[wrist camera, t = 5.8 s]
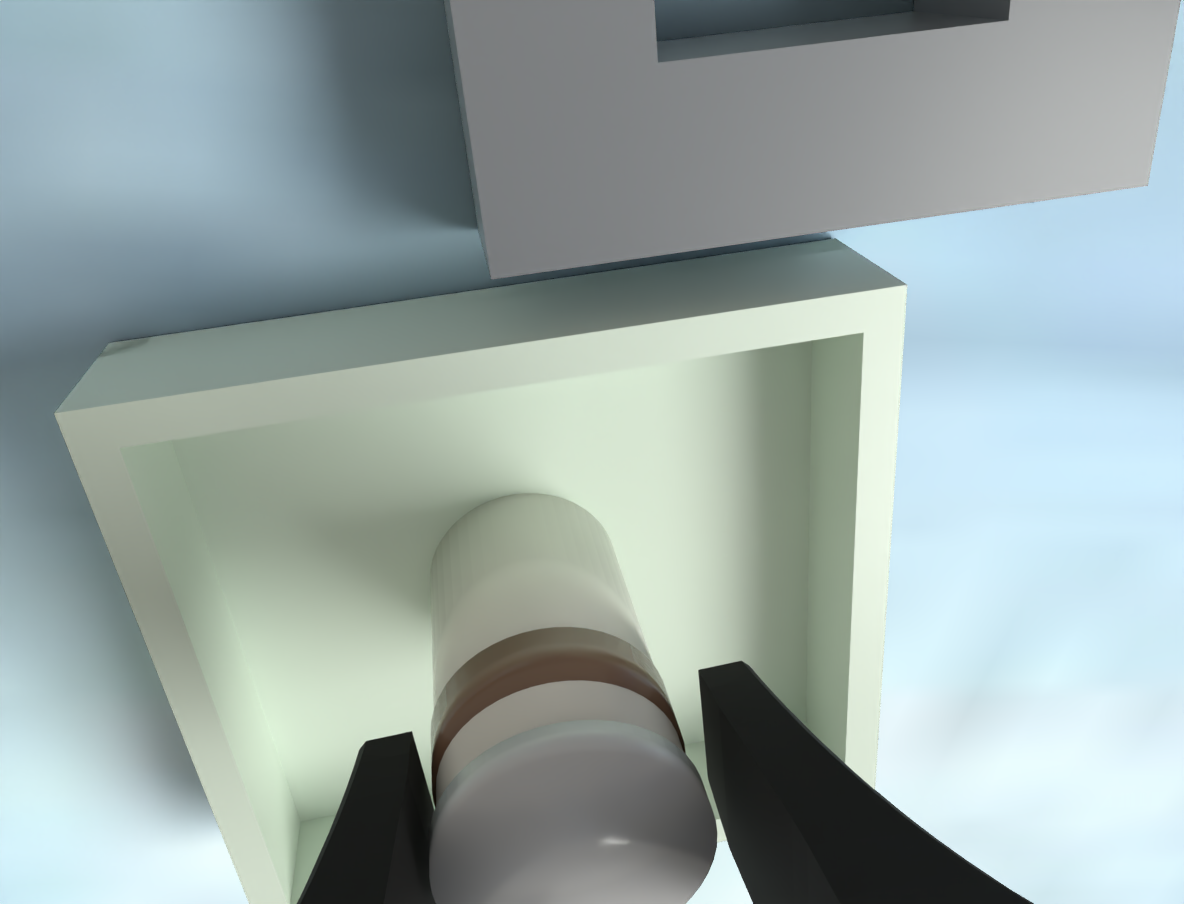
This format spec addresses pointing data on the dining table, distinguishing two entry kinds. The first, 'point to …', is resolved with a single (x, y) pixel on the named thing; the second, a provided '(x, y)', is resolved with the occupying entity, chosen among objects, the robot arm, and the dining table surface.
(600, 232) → the fuse holder
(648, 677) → the cylinder
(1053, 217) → the dining table surface
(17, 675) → the dining table surface
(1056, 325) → the dining table surface
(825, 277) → the parts tray
